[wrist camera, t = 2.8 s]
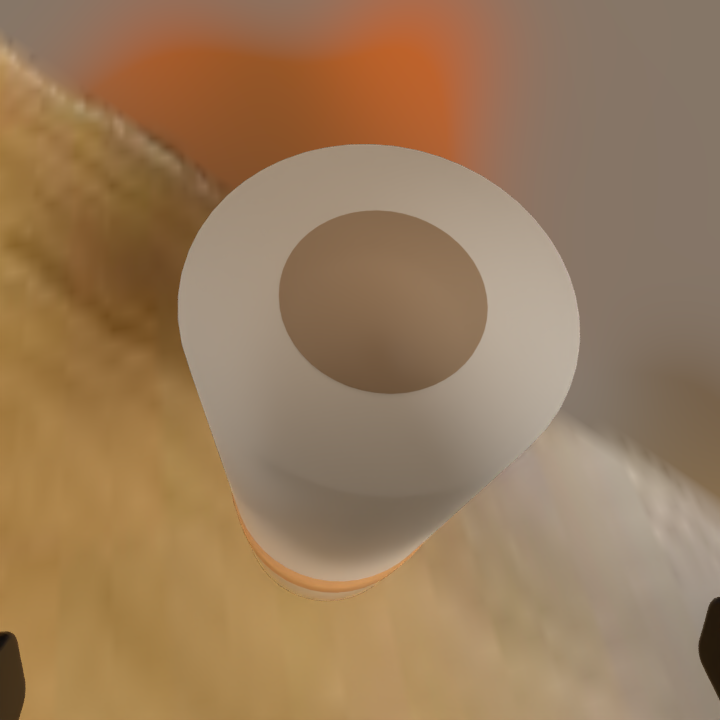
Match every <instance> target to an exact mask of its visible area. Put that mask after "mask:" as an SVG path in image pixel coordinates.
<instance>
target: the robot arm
mask: <svg viewBox="0 0 720 720" xmlns="http://www.w3.org/2000/svg"><path fill="white" fill-rule="evenodd" d="M699 656H700V660H701V663H702V665H703V667H704V669H705V671H706V673H707V675H708V677H709V679H710V681H711V683H712V685H713V687H714V690H715V692H716V694H717V696H718V698H719V700H720V597H717V598H714V599H713V600H712V602H711V603H710V605H709V607H708V611H707V614H706V618H705V622H704V625H703V629H702V633H701V636H700V640H699ZM24 698H25V678H24V673H23V668H22V663H21V658H20V652H19V647H18V642H17V639H16V637H15V635H14V634H13V633H11V632H7V631H6V632H0V720H19V717H20V714H21V710H22V707H23V703H24Z"/></svg>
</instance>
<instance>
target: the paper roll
mask: <svg viewBox="0 0 720 720" xmlns="http://www.w3.org/2000/svg"><path fill="white" fill-rule="evenodd" d="M178 323H179V329H180V336H181V343H182V346H183V350H184V353H185V356H186V359H187V362H188V365H189V369H190V372H191V374H192V377H193V380H194V383H195V386H196V389H197V392H198V395H199V398H200V400H201V403H202V406H203V409H204V412H205V415H206V418H207V421H208V424H209V427H210V429H211V432H212V435H213V438H214V441H215V444H216V447H217V450H218V453H219V456H220V458H221V461H222V464H223V467H224V470H225V473H226V476H227V479H228V482H229V484H230V487H231V490H232V496H233V502H234V505H235V508H236V511H237V515H238V517H239V520H240V523H241V526H242V528H243V531H244V533H245V536H246V538H247V540H248V542H249V544H250V545H251V548H252V551H253V553H254V555H255V557H256V559H257V561H258V562H259V564H260V565H261V567H262V568H263V570H264V571H265V572H266V573H267V574H268V575H269V577H270V578H272V579H273V580H274V581H275V582H276V583H277V584H278V585H280V586H281V587H283V588H285V589H286V590H288V591H290V592H292V593H294V594H296V595H298V596H301V597H304V598H308V599H313V600H319V601H334V600H342V599H346V598H350V597H354V596H356V595H358V594H361V593H363V592H365V591H367V590H368V589H370V588H372V587H373V586H374V585H376V584H377V583H378V582H380V581H381V580H382V579H384V578H385V577H387V576H388V575H390V574H391V573H392V572H393V571H395V570H396V569H397V568H398V567H400V566H401V565H402V564H403V563H404V562H405V561H406V560H408V559H409V558H410V557H411V556H412V555H413V554H414V553H415V552H416V551H417V550H418V549H419V548H420V547H421V546H422V544H423V543H424V541H425V540H427V539H428V538H429V537H430V536H431V535H432V534H433V533H434V532H435V531H437V530H438V529H439V528H440V527H441V526H442V525H443V524H444V523H445V522H447V521H448V520H449V519H450V518H451V517H452V516H453V515H454V514H455V513H457V512H458V511H459V510H460V509H461V508H462V507H463V506H464V505H465V504H467V503H468V502H469V501H470V500H471V499H472V498H473V497H474V496H476V495H477V494H478V493H479V492H480V491H481V490H482V489H483V488H484V487H486V486H487V485H488V484H489V483H490V482H491V481H492V480H493V479H494V478H496V477H497V476H498V475H499V474H500V473H501V472H502V471H503V470H504V469H506V468H507V467H508V466H509V465H510V464H511V463H512V462H513V461H514V460H516V459H517V458H518V457H519V456H520V455H521V454H522V453H523V452H524V451H526V450H527V449H528V448H529V447H530V446H531V445H532V444H533V443H534V442H535V440H536V439H537V438H538V437H539V436H540V435H541V434H542V433H543V432H544V431H545V430H546V429H547V427H548V426H549V424H550V423H551V421H552V420H553V418H554V417H555V416H556V414H557V413H558V411H559V410H560V408H561V406H562V404H563V402H564V399H565V397H566V395H567V393H568V391H569V389H570V386H571V383H572V380H573V376H574V373H575V370H576V367H577V360H578V353H579V346H580V319H579V313H578V307H577V299H576V296H575V292H574V289H573V286H572V282H571V279H570V276H569V274H568V272H567V269H566V267H565V265H564V263H563V260H562V258H561V256H560V254H559V253H558V251H557V249H556V248H555V246H554V244H553V243H552V241H551V240H550V238H549V236H548V235H547V234H546V233H545V231H544V230H543V229H542V227H541V226H540V225H539V224H538V222H537V221H536V220H535V219H534V218H533V217H532V216H531V215H530V214H529V213H528V212H527V211H526V210H525V209H524V208H523V206H522V205H521V204H520V203H519V202H517V201H516V200H515V199H514V198H512V197H511V196H510V195H509V194H507V193H506V192H505V191H504V190H503V189H501V188H500V187H498V186H497V185H495V184H494V183H492V182H491V181H489V180H488V179H486V178H484V177H483V176H481V175H479V174H477V173H475V172H474V171H472V170H470V169H468V168H466V167H464V166H462V165H460V164H457V163H455V162H452V161H450V160H447V159H444V158H442V157H439V156H436V155H432V154H428V153H426V152H422V151H418V150H413V149H408V148H402V147H397V146H388V145H376V144H359V145H357V144H356V145H342V146H333V147H327V148H321V149H317V150H313V151H309V152H304V153H301V154H298V155H295V156H293V157H290V158H287V159H284V160H282V161H280V162H277V163H275V164H273V165H271V166H269V167H267V168H265V169H263V170H261V171H260V172H258V173H257V174H255V175H254V176H252V177H250V178H249V179H247V180H246V181H244V182H243V183H242V184H240V185H239V186H238V187H237V188H236V189H234V190H233V191H232V192H231V193H230V194H228V195H227V196H226V197H225V198H224V199H223V200H222V201H221V203H220V204H219V205H218V206H217V207H216V208H215V209H214V210H213V211H212V212H211V214H210V215H209V217H208V218H207V220H206V221H205V222H204V224H203V225H202V227H201V228H200V230H199V231H198V233H197V235H196V237H195V239H194V241H193V243H192V245H191V247H190V249H189V252H188V255H187V258H186V261H185V264H184V267H183V270H182V274H181V280H180V287H179V293H178Z"/></svg>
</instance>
